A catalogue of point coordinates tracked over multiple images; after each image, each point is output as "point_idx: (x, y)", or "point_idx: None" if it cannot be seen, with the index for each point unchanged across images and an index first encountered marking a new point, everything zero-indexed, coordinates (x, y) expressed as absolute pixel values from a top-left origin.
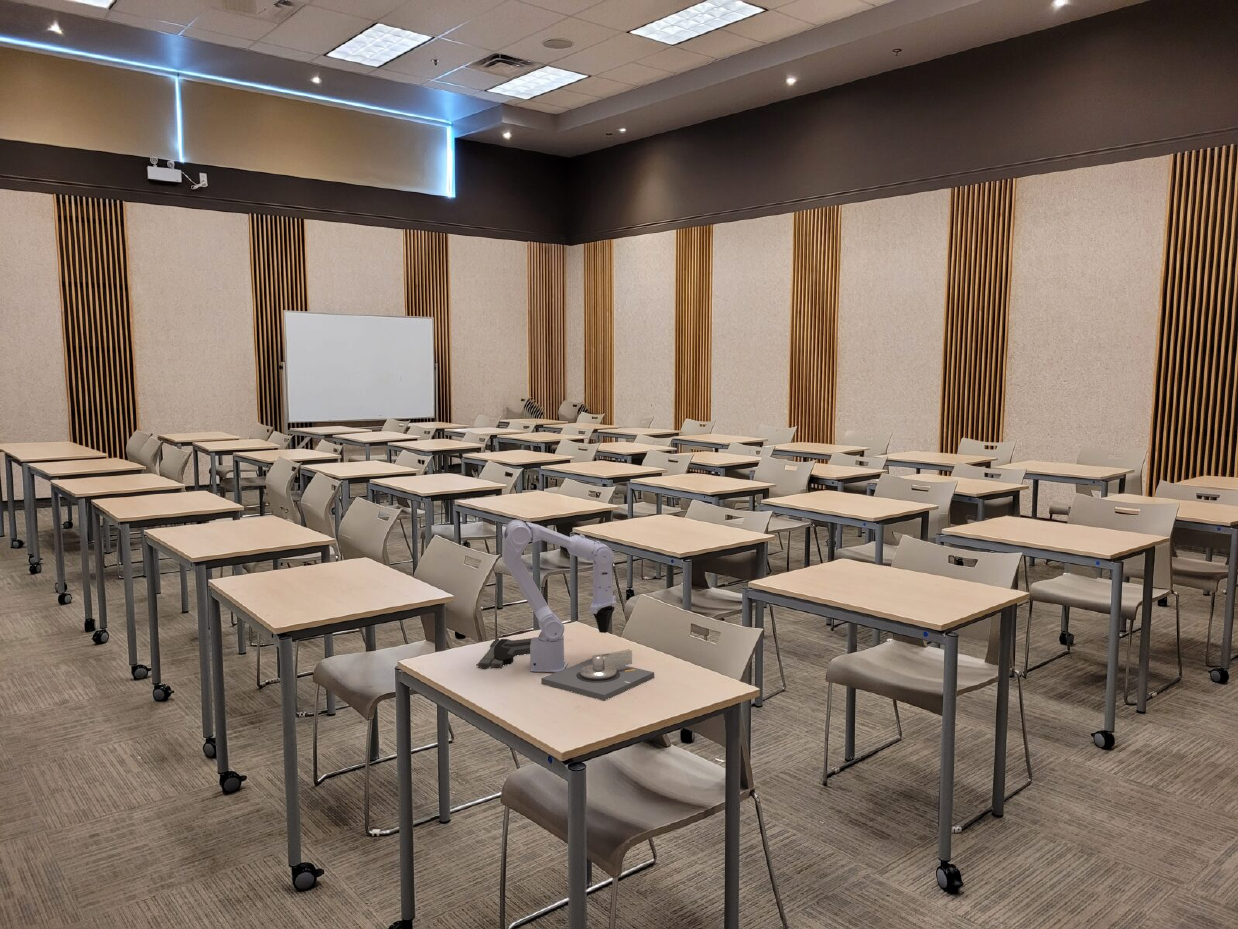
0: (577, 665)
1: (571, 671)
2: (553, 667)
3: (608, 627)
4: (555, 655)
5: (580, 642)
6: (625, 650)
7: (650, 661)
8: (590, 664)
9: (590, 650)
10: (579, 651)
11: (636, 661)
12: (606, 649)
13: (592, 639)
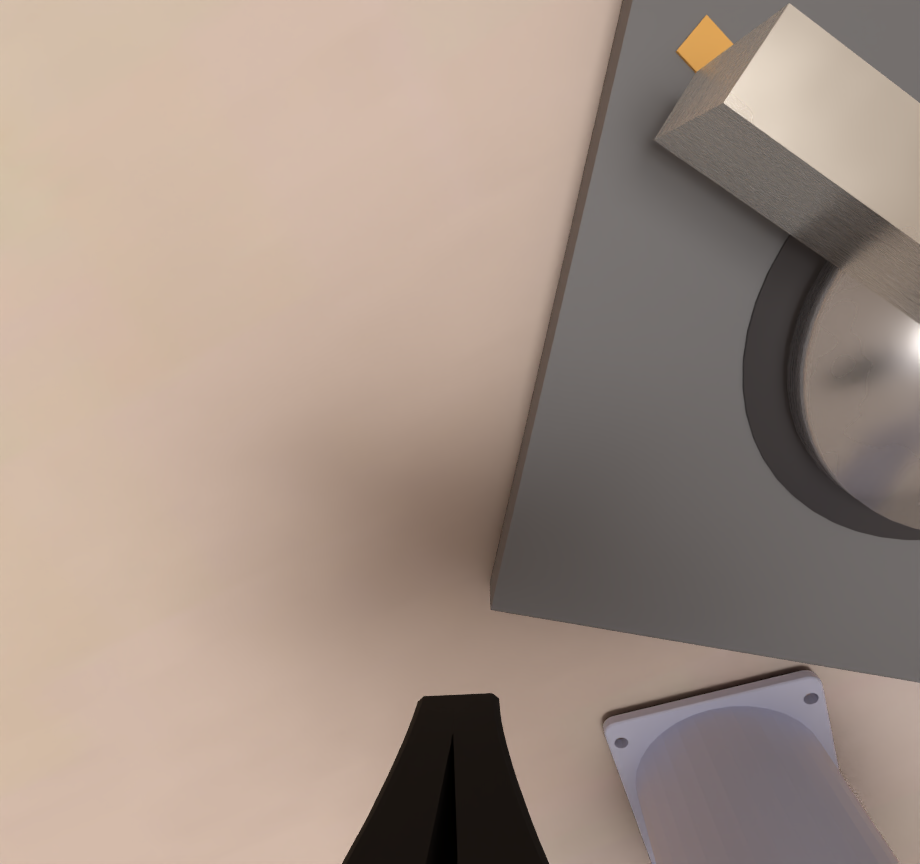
0: (735, 628)
1: (907, 602)
2: (826, 753)
3: (408, 749)
4: (878, 841)
5: (121, 835)
6: (809, 130)
7: (181, 126)
8: (670, 550)
9: (229, 719)
10: (293, 767)
11: (261, 267)
12: (136, 637)
13: (13, 803)
